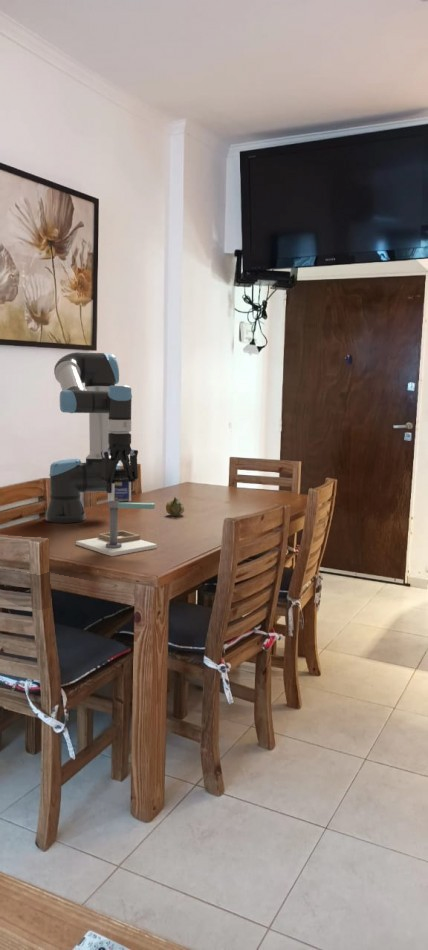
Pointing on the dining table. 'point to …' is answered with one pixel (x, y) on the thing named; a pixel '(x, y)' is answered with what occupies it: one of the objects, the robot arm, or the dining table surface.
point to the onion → (175, 507)
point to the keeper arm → (130, 505)
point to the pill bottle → (121, 485)
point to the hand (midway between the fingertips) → (119, 501)
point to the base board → (116, 551)
